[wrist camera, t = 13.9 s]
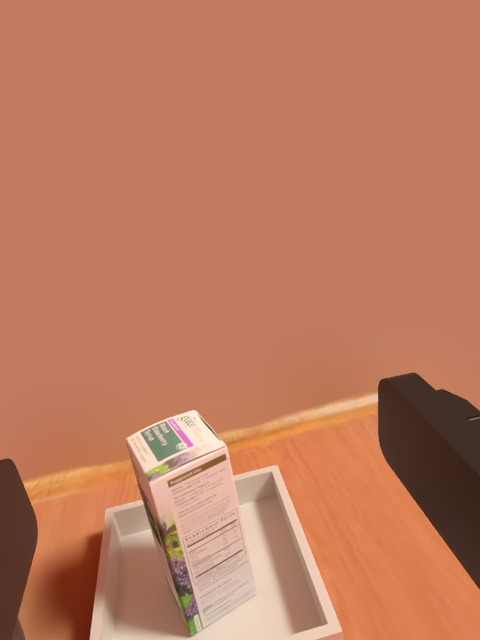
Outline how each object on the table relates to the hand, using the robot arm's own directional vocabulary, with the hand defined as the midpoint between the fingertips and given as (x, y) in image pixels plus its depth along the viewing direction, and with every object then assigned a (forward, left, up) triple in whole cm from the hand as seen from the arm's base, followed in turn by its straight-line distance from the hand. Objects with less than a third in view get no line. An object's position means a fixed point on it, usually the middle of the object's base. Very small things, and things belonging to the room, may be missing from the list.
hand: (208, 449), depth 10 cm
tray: (-3, +18, -27) cm, 33 cm away
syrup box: (-3, +18, -27) cm, 33 cm away
